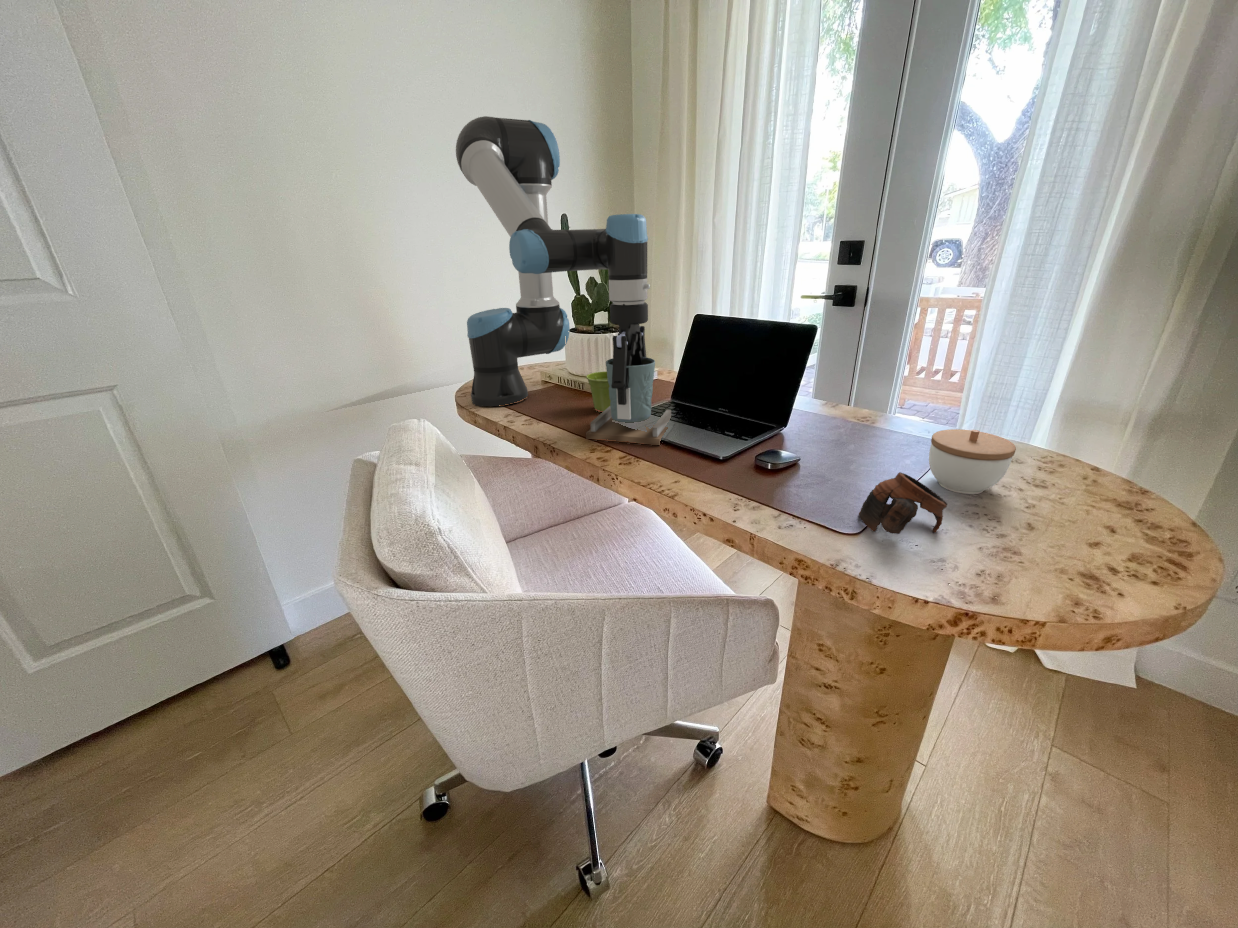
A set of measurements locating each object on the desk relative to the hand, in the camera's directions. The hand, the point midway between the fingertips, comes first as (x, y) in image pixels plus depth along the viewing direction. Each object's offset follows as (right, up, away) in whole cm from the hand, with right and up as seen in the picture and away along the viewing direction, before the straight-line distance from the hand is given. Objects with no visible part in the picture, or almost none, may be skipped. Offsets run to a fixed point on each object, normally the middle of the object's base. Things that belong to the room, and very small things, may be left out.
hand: (631, 411), depth 105 cm
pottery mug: (+36, -20, -37) cm, 56 cm away
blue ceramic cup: (0, -1, +1) cm, 1 cm away
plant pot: (-6, +2, +17) cm, 18 cm away
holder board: (0, -4, +2) cm, 5 cm away
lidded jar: (+52, -15, -27) cm, 60 cm away
